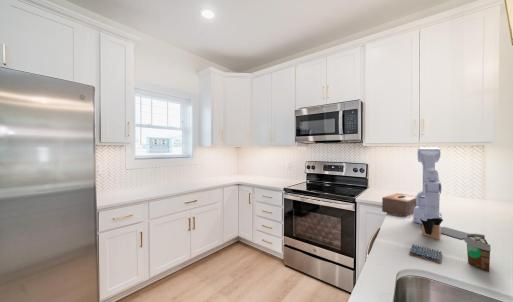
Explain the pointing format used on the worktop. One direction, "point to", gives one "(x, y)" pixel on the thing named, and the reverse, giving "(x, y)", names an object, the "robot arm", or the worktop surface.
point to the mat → (453, 233)
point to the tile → (433, 232)
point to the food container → (478, 251)
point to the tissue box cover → (399, 204)
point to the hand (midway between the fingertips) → (431, 233)
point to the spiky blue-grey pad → (426, 253)
